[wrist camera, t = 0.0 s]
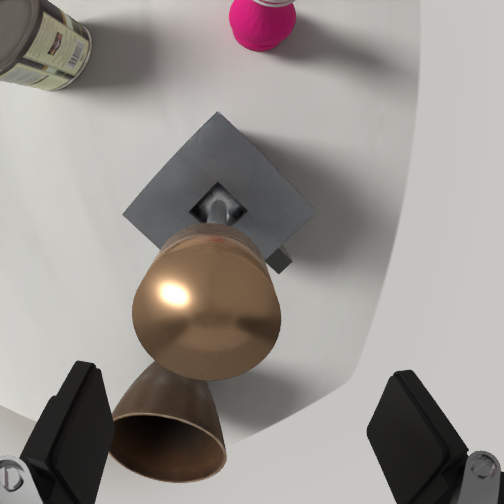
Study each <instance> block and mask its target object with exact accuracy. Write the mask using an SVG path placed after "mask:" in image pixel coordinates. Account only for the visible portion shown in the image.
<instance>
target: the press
mask: <svg viewBox="0 0 504 504" xmlns="http://www.w3.org/2000/svg"><path fill="white" fill-rule="evenodd" d="M217 182H219V183H220V184H221V185H222V186H223V187H224V188H225V189H226V190H227V191H228V192H229V193H230V194H231V195H232V196H233V197H234V198H235V199H236V200H238V201H239V202H240V203H241V204H242V205H243V206H244V207H245V208H246V210H245V211H244V212H243V213H242V214H241V215H240V216H239V217H238V218H237V219H236V220H235V221H234V222H233V223H232V224H231V225H230V227H233V228H235V229H237V230H239V231H241V232H242V233H244V234H245V235H247V236H248V237H249V238H250V239H251V240H252V241H253V242H254V243H255V244H256V245H257V247H258V248H259V250H260V251H261V253H262V255H263V257H264V260H265V262H266V263H267V264H268V265H269V266H270V267H271V268H272V269H274V270H275V271H276V272H277V273H278V274H280V273H281V272H282V271H283V270H284V269H285V268H286V267H287V266H288V265H289V264H290V263H291V262H292V260H291V258H290V256H289V255H288V253H287V251H286V249H285V248H284V246H283V243H284V242H285V241H286V240H287V239H288V238H289V237H290V236H291V235H292V234H293V233H294V232H295V231H296V230H297V229H299V228H300V227H301V226H302V225H303V224H304V223H305V222H306V221H307V220H308V219H309V218H310V217H311V216H312V215H313V214H314V213H315V212H316V210H315V209H314V208H313V207H312V206H311V205H310V204H309V202H308V201H307V200H306V199H305V198H304V197H303V196H302V195H301V194H300V193H299V192H298V191H297V190H296V189H295V187H294V186H293V185H292V184H291V183H290V182H289V181H288V180H287V179H286V178H285V177H284V176H283V175H282V174H281V173H280V172H279V171H278V170H277V169H276V168H275V167H274V166H273V165H272V164H271V163H270V162H269V161H268V159H267V158H266V157H265V156H264V155H263V154H262V153H261V152H260V151H259V150H258V149H257V148H256V147H255V146H254V145H253V144H252V143H251V142H250V141H249V140H248V139H247V138H245V137H244V136H243V135H242V134H241V133H240V132H239V131H238V130H237V129H236V128H235V127H234V126H233V125H232V124H231V123H230V122H229V121H228V120H227V119H226V118H225V117H224V116H223V115H222V114H221V113H219V112H218V111H217V112H216V113H215V114H214V115H213V116H212V117H211V118H210V119H209V120H208V121H207V122H206V123H205V124H204V125H203V126H202V127H201V128H200V129H199V130H198V131H197V132H196V133H195V134H194V135H193V136H192V137H191V138H190V139H189V140H188V141H187V142H186V143H185V144H184V145H183V146H182V147H181V148H180V150H179V151H178V152H177V153H176V154H175V155H174V156H173V157H172V158H171V159H170V160H169V161H168V162H167V163H166V165H165V166H164V167H163V168H162V169H161V170H160V171H159V172H158V173H157V174H156V176H155V177H154V178H153V179H152V180H151V181H150V182H149V183H148V185H147V186H146V187H145V188H144V189H143V190H142V192H141V193H140V194H139V195H138V196H137V197H136V199H135V200H134V201H133V202H132V203H131V205H130V206H129V207H128V208H127V209H126V211H125V212H124V213H123V214H122V215H123V216H124V217H125V218H127V219H128V220H129V221H130V222H131V223H132V224H133V225H134V226H135V227H136V228H137V229H138V230H139V231H140V232H142V233H143V234H144V235H145V236H146V237H147V238H148V239H149V240H150V241H151V242H152V243H154V244H155V245H156V246H157V247H158V248H159V249H160V250H161V248H162V247H163V245H164V244H165V243H166V242H167V240H168V239H170V238H171V237H172V236H173V235H174V234H176V233H177V232H178V231H180V230H182V229H184V228H186V227H189V226H192V225H196V224H200V223H204V222H203V221H202V220H201V219H200V218H198V217H197V216H196V215H195V214H194V213H193V212H192V211H191V209H192V208H193V207H194V206H195V205H196V203H197V202H198V201H199V200H200V199H201V198H202V197H203V196H204V195H205V194H206V193H207V192H208V191H209V190H210V189H211V188H212V187H213V186H214V185H215V184H216V183H217Z"/></svg>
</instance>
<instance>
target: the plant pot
mask: <svg viewBox="0 0 504 504" xmlns="http://www.w3.org/2000/svg"><path fill="white" fill-rule="evenodd" d="M112 418H113V421H114V425H115V431H114V436H113V439H112V442H111V446H110V449H109V452H108V453H109V454H110V455H111V456H112V457H113V458H114V459H115V460H116V461H117V462H118V463H120V464H121V465H122V466H124V467H126V468H127V469H129V470H130V471H132V472H135V473H137V474H139V475H142V476H144V477H147V478H150V479H154V480H159V481H163V482H171V483H187V482H196V481H200V480H204V479H207V478H209V477H211V476H213V475H215V474H217V473H218V472H219V471H220V470H221V469H222V468H223V467H224V465H225V463H226V459H227V458H226V457H227V456H226V449H225V444H224V439H223V434H222V430H221V425H220V422H219V418H218V414H217V411H216V407H215V404H214V401H213V398H212V396H211V393H210V390H209V388H208V385H207V383H206V381H205V380H198V379H192V378H188V377H184V376H181V375H179V374H176V373H174V372H172V371H170V370H168V369H166V368H165V367H163V366H162V365H160V364H159V363H158V362H157V361H154V362H153V363H152V364H151V365H150V366H149V367H148V368H147V369H146V370H145V371H144V372H143V373H142V374H141V375H140V376H139V377H138V378H137V379H136V380H135V381H134V383H133V384H132V385H131V386H130V388H129V389H128V390H127V392H126V393H125V394H124V396H123V397H122V399H121V400H120V402H119V403H118V405H117V406H116V408H115V410H114V411H113V413H112Z"/></svg>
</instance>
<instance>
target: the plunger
mask: <svg viewBox="0 0 504 504" xmlns="http://www.w3.org/2000/svg"><path fill="white" fill-rule="evenodd" d="M245 210H246V208H245V207H244V206H243V205H242V204H241V203H240V202H239V201H238V200H236V199H235V198H234V197H233V196H232V195H231V194H230V193H229V192H228V191H227V190H226V189H225V188H224V187H223V186H222V185H221V184H220V183H219V182H217V183H216V184H215V185H214V186H213V187H212V188H211V189H210V190H209V191H208V192H207V193H206V194H205V195H204V196H203V197H202V198H201V199H200V200H199V201H198V202H197V203H196V205H195V206H194V207H193V208H192V209H191V211H192V212H193V213H194V214H195V215H196V216H197V217H198V218H200V219H201V220H202V221H203V222H204V223H200V224H196V225H192V226H189V227H186V228H184V229H182V230H180V231H178V232H177V233H176V234H174V235H173V236H172V237H171V238H170V239H168V240H167V242H166V243H165V244H164V245H163V247H162V248H161V250H160V252H159V253H158V255H157V256H156V258H155V260H154V262H153V263H152V265H151V267H150V268H149V270H148V272H147V273H146V275H145V277H144V278H143V280H142V282H141V284H140V286H139V287H138V289H137V292H136V294H135V297H134V301H133V307H132V318H133V325H134V329H135V332H136V334H137V337H138V339H139V341H140V343H141V344H142V346H143V347H144V349H145V350H146V351H147V353H148V354H149V355H150V356H151V357H152V358H153V359H154V360H155V361H157V362H158V363H159V364H160V365H162V366H163V367H165V368H166V369H168V370H170V371H172V372H174V373H176V374H179V375H181V376H184V377H188V378H192V379H198V380H221V379H227V378H231V377H235V376H238V375H240V374H243V373H245V372H247V371H248V370H250V369H252V368H253V367H255V366H256V365H258V364H259V363H260V362H261V361H262V360H263V359H264V358H265V357H266V356H267V355H268V354H269V353H270V351H271V350H272V348H273V347H274V345H275V343H276V340H277V338H278V335H279V332H280V326H281V311H280V305H279V302H278V299H277V296H276V293H275V290H274V287H273V284H272V281H271V278H270V275H269V272H268V269H267V266H266V263H265V260H264V257H263V255H262V253H261V251H260V250H259V248H258V247H257V245H256V244H255V243H254V242H253V241H252V240H251V239H250V238H249V237H248V236H247V235H245V234H244V233H242V232H241V231H239V230H237V229H235V228H233V227H230V225H231V224H232V223H233V222H234V221H235V220H236V219H237V218H238V217H239V216H240V215H241V214H242V213H243V212H244V211H245Z"/></svg>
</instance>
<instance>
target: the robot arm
mask: <svg viewBox="0 0 504 504" xmlns="http://www.w3.org/2000/svg"><path fill="white" fill-rule="evenodd" d="M114 431H115V425H114V421H113V418H112V414H111V410H110V406H109V403H108V399H107V395H106V391H105V386H104V382H103V378H102V373H101V370H100V369H98V368H96V365H95V364H94V363H89V362H83V361H76V362H75V364H74V365H73V367H72V369H71V371H70V372H69V374H68V376H67V378H66V379H65V381H64V383H63V385H62V386H61V388H60V390H59V392H58V394H57V395H56V396H55V395H54V396H52V397H51V398H50V400H49V401H48V403H47V405H46V407H45V409H44V410H43V412H42V414H41V416H40V418H39V420H38V422H37V424H36V426H35V427H34V429H33V431H32V433H31V435H30V437H29V439H28V441H27V443H26V445H25V447H24V449H23V451H22V453H21V455H20V458H17V457H15V456H9V455H6V456H0V504H95V500H96V496H97V492H98V489H99V485H100V481H101V477H102V474H103V469H104V466H105V463H106V459H107V456H108V452H109V449H110V446H111V442H112V439H113V436H114ZM367 437H368V439H369V441H370V444H371V446H372V448H373V450H374V452H375V455H376V457H377V459H378V462H379V464H380V466H381V468H382V471H383V473H384V475H385V478H386V480H387V482H388V485H389V487H390V489H391V491H392V493H393V496H394V498H395V501H396V503H397V504H504V472H501V468H500V463H499V461H498V460H497V458H496V457H495V456H494V455H492V454H491V453H489V452H486V451H475V452H474V453H472V454H471V455H470V456H468V455H467V451H469V449H468V448H467V446H466V445H465V443H464V442H463V440H462V439H461V437H460V436H459V435H458V433H457V432H456V430H455V429H454V427H453V426H452V424H451V423H450V422H449V420H448V419H447V417H446V416H445V414H444V413H443V412H442V410H441V409H440V407H439V406H438V405H437V403H436V402H435V400H434V399H433V398H432V396H431V395H430V393H429V392H428V391H427V389H426V388H425V387H424V385H423V384H422V382H421V381H420V380H419V378H418V377H417V376H416V374H415V373H414V372H413V371H412V370H404V371H397V372H395V373H394V374H393V376H391V377H390V378H389V380H388V383H387V385H386V387H385V390H384V392H383V394H382V397H381V399H380V401H379V404H378V406H377V408H376V410H375V412H374V415H373V417H372V419H371V421H370V423H369V425H368V427H367Z"/></svg>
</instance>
